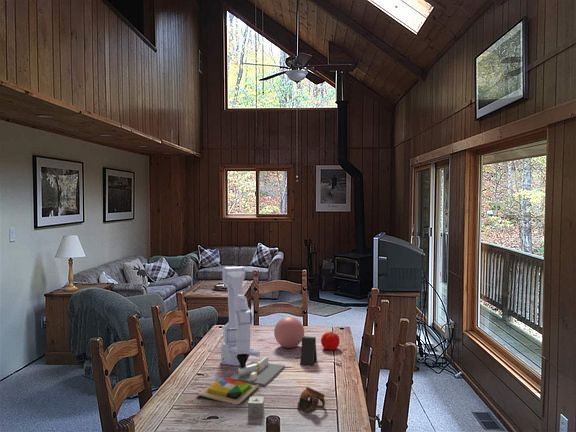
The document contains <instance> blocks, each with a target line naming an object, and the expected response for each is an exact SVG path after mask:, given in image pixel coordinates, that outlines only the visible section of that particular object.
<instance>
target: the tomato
mask: <svg viewBox="0 0 576 432" xmlns="http://www.w3.org/2000/svg"><path fill="white" fill-rule="evenodd" d="M340 340H341V338H340V336H339V334H337V333H335V332H332V331H329V332H325V333H324V334H322V336H321V339H320V344H321V346H322V348H324V350H330V351H332V350H336V349H338V347H339V345H340V342H341V341H340Z"/></svg>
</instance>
